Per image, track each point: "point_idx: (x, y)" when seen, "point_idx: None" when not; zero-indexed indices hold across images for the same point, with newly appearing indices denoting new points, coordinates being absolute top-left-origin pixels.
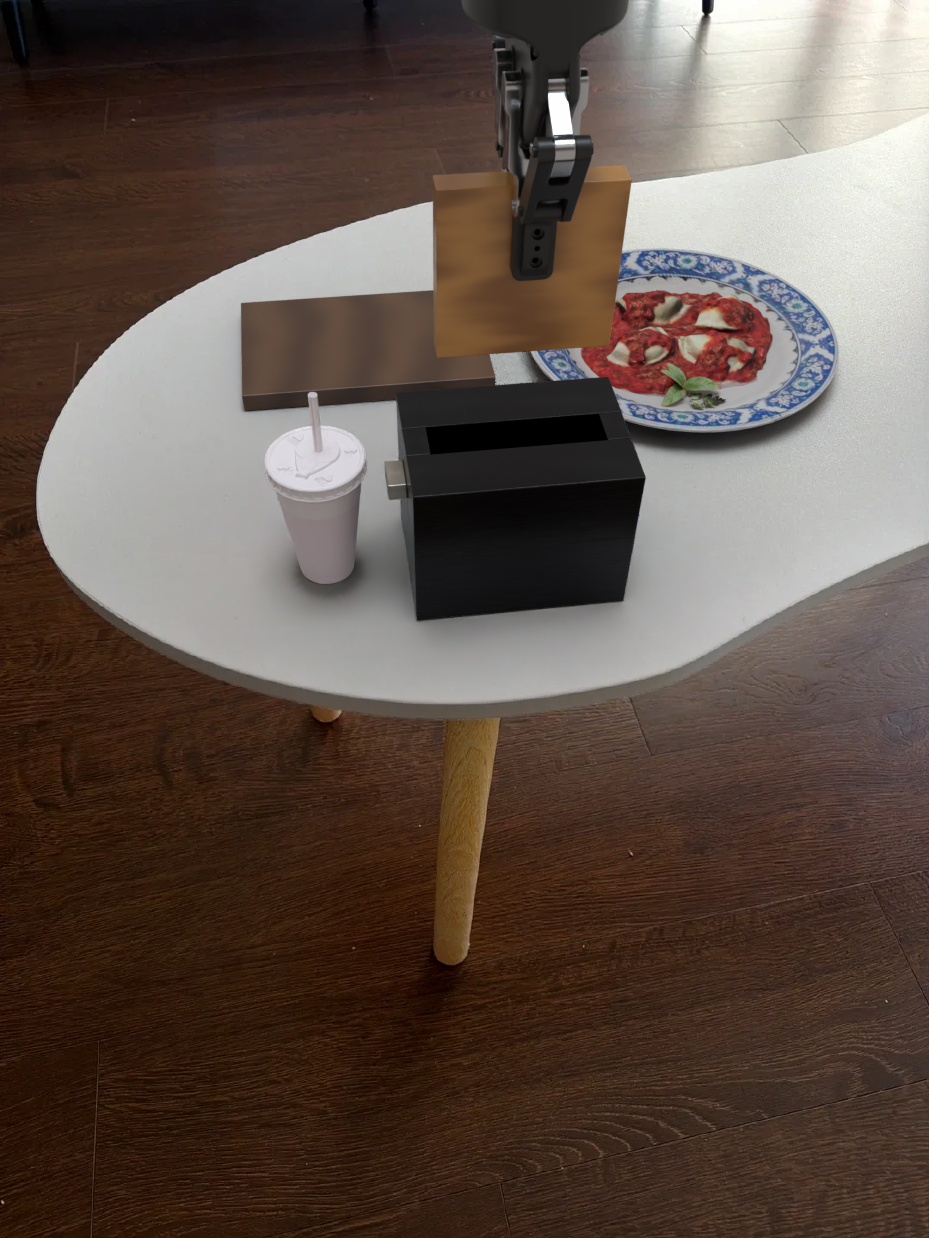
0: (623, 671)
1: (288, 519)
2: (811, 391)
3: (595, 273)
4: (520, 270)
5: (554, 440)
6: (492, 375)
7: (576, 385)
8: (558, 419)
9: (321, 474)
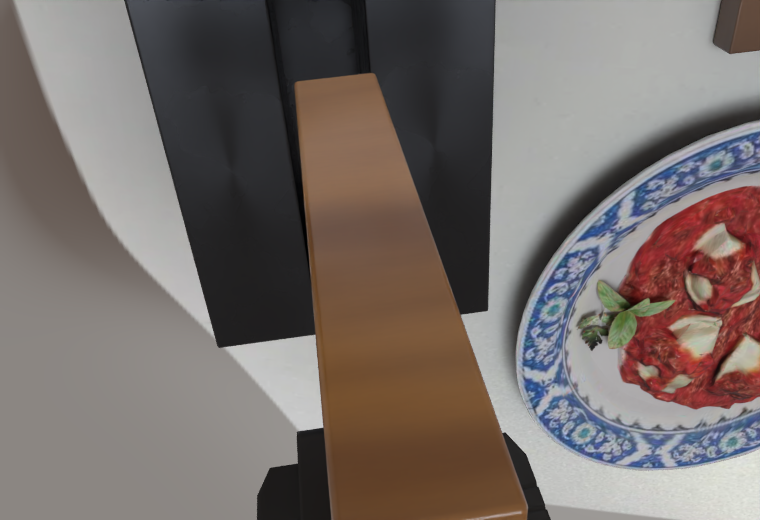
0: (100, 187)
1: None
2: (567, 440)
3: None
4: (290, 472)
5: None
6: (735, 49)
7: (469, 263)
8: None
9: None
